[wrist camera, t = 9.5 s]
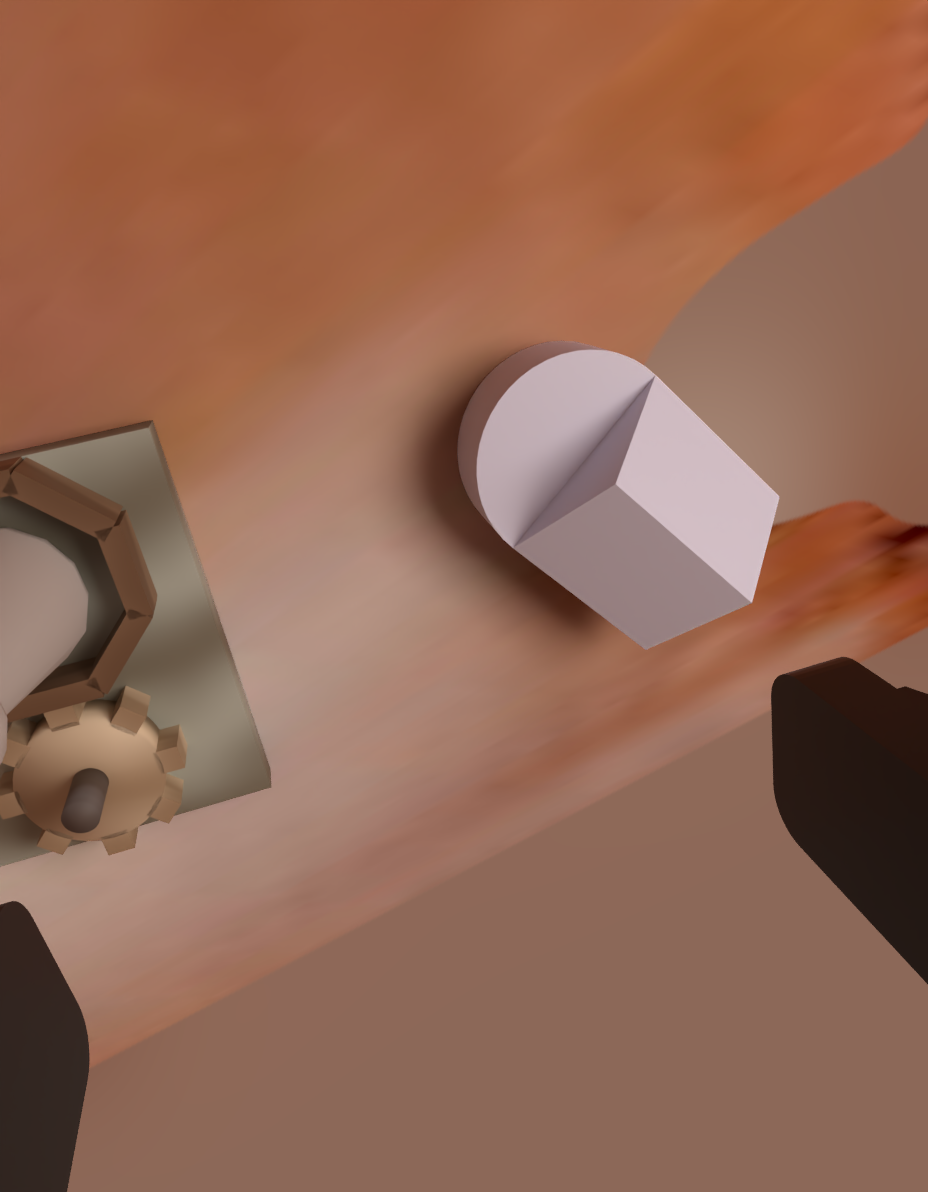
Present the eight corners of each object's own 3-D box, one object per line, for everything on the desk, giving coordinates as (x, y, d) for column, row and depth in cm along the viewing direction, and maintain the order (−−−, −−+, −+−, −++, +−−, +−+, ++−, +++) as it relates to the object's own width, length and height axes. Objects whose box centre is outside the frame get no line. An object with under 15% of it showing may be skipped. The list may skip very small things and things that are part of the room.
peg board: (-202, 499, 31) (-289, 549, 26) (152, 420, 33) (136, 452, 28) (-13, 851, 38) (-52, 944, 33) (270, 769, 40) (274, 845, 35)
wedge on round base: (739, 478, 40) (549, 295, 35) (826, 518, 34) (613, 305, 29) (616, 620, 42) (415, 465, 36) (679, 683, 36) (450, 509, 30)
